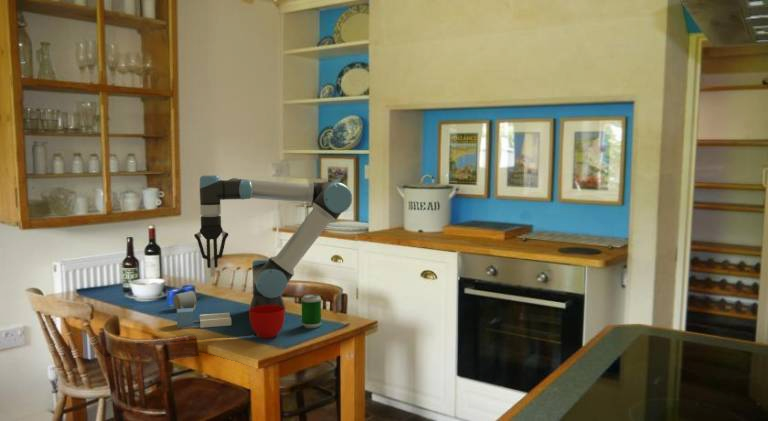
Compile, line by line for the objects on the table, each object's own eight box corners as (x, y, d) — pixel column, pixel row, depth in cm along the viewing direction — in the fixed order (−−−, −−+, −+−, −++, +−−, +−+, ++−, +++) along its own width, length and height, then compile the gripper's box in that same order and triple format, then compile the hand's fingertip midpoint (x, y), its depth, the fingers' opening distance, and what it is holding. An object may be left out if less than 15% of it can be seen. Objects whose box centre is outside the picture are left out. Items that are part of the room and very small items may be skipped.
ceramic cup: (265, 326, 246) (264, 301, 245) (292, 335, 234) (291, 308, 233) (236, 333, 237) (235, 307, 236) (263, 343, 225) (262, 315, 224)
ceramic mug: (172, 309, 274) (172, 291, 273) (191, 306, 279) (190, 289, 278) (181, 314, 265) (180, 296, 265) (200, 311, 270) (199, 293, 270)
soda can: (324, 327, 245) (324, 296, 244) (306, 329, 242) (306, 298, 241) (316, 322, 252) (316, 292, 251) (299, 325, 248) (298, 295, 247)
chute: (229, 321, 254) (229, 312, 253) (231, 327, 245) (231, 318, 244) (181, 325, 248) (181, 316, 248) (181, 331, 239) (180, 322, 239)
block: (193, 323, 248) (193, 307, 247) (193, 326, 242) (193, 311, 242) (177, 324, 246) (177, 309, 245) (177, 328, 241) (176, 312, 240)
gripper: (227, 214, 249) (229, 273, 251) (192, 215, 245) (195, 275, 247) (228, 215, 242) (230, 276, 244) (193, 217, 238) (195, 278, 240)
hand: (212, 275), depth 246 cm, fingers closed
